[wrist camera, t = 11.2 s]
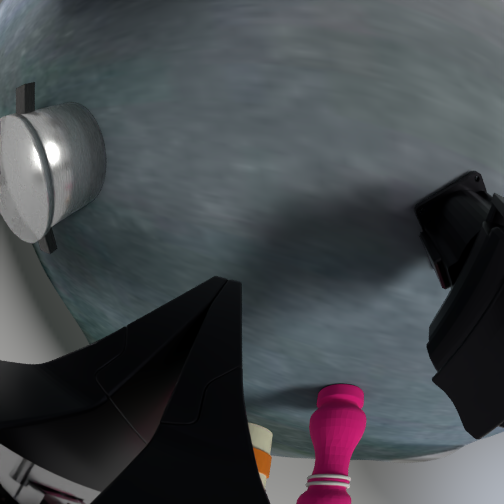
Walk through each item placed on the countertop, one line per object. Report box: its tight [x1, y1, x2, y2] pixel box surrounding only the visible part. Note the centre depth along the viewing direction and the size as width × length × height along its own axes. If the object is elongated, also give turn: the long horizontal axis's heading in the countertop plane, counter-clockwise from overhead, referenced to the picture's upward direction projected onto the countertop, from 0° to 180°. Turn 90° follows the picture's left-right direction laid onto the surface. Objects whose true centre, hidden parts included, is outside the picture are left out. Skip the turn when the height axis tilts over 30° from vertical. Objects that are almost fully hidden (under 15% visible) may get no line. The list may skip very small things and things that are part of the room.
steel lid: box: [0, 113, 54, 243], centre depth 17 cm, size 18×13×1 cm
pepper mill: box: [296, 384, 366, 504], centre depth 23 cm, size 7×7×20 cm
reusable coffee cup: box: [248, 423, 272, 491], centre depth 39 cm, size 13×13×15 cm
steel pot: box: [16, 82, 106, 254], centre depth 20 cm, size 12×18×7 cm
